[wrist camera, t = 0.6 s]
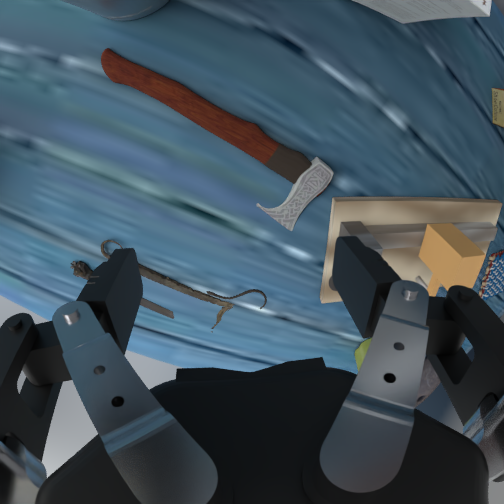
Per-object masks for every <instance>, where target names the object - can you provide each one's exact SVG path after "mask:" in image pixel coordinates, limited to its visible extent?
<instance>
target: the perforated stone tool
mask: <svg viewBox="0 0 504 504" xmlns="http://www.w3.org/2000/svg"><path fill="white" fill-rule="evenodd" d="M440 382H441V381H440V379H439V377H438V376H437V374H436V372H435V370H434V368H433V367H432V365H431V363H430V361H429V360H428V358H426V359H425V360H424V365H423V371H422V376H421V381H420V385H419V390H418V395H417V399H416V403H415V407H417V405H419V404H420V403H422V402H423V401H424V400H425V399H426V398H427V397H428V396H429V395H430V394H431V393H432V392H433V391H434V390H435V388H436V387H437V386H438V384H439V383H440ZM415 407H414V408H415Z"/></svg>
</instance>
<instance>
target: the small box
mask: <svg viewBox="0 0 504 504" xmlns="http://www.w3.org/2000/svg"><path fill="white" fill-rule="evenodd" d="M352 1H355V2H357V3H360V4H362V5H364V6H367V7H369V8H371V9H373V10H375V11H378V12H380V13H382V14H384V15H386V16H388V17H390V18H392V19H394V20H396V21H398V22H400V23H402V24H405V23H411V22H418V21H425V20H435V19H446V18H459V17H489V16H490V9H491V0H352Z"/></svg>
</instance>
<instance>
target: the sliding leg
mask: <svg viewBox="0 0 504 504" xmlns="http://www.w3.org/2000/svg"><path fill="white" fill-rule="evenodd" d="M485 256H486V254H485V253H484V252H483V251H482V250H481V249H479V248H478V247H477V246H476V245H475V244H474V243H473V242H472V241H471V240H470V239H469V238H468V237H467V236H465V235H464V234H463V233H462V232H461V231H460V230H459V229H458V228H456V227H455V226H454V225H453V224H452V223H439V224H427V227H426V231H425V235H424V239H423V242H422V246H421V249H420V253H419V257H420V259H421V260H422V261H423V262H424V263H425V264H426V266H427V267H428V268H429V269H430V270H431V272H432V273H433V274H432V277H431V280H430V282H429V285H428V286H427V284H426V283H425V282H424V281H423V279H422V278H421V277H420V276H417V277H416V278H415V280H416V281H417V283H419V284H420V285H422V286H423V287H425V288H426V290H427V291H428V293H429V296H436V293H437V291H438V288H439V286H440V283H441V284H442V285H443V286H444V287H445V289H446V290H447V291H448V289H449V288H450V287H451V286H454V285H462V286H466V287H468V288H473V286H474V283H475V281H476V279H477V276H478V274H479V271H480V269H481V267H482V264H483V262H484V259H485Z"/></svg>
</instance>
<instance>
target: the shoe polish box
mask: <svg viewBox="0 0 504 504" xmlns="http://www.w3.org/2000/svg"><path fill="white" fill-rule="evenodd" d="M492 104H493V124H495V125H498V126H500V127H503V128H504V89H498V88H492Z"/></svg>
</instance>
